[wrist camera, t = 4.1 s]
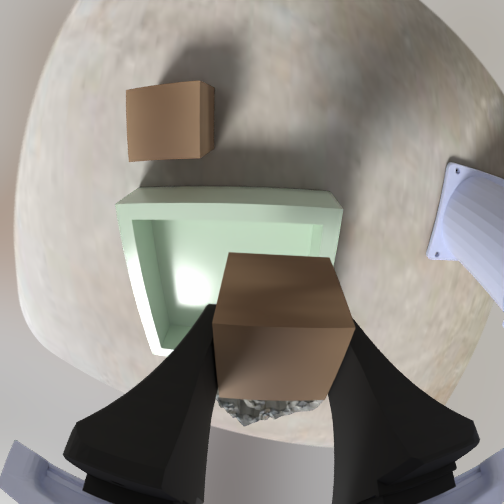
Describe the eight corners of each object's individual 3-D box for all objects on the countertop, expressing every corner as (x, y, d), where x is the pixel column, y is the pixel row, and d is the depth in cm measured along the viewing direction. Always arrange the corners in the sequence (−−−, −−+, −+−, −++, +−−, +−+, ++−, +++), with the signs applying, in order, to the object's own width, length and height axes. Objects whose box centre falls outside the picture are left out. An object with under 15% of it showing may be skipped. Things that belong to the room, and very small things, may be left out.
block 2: (329, 257, 11) (355, 327, 7) (313, 329, 13) (324, 399, 9) (228, 252, 11) (212, 323, 7) (229, 326, 13) (219, 397, 9)
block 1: (214, 87, 14) (200, 80, 11) (214, 148, 16) (200, 158, 13) (154, 93, 15) (126, 90, 11) (156, 150, 16) (128, 162, 13)
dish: (329, 191, 17) (343, 209, 14) (305, 335, 23) (310, 365, 20) (138, 187, 18) (115, 204, 14) (163, 326, 24) (152, 354, 21)
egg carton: (301, 344, 25) (305, 379, 21) (325, 381, 28) (330, 411, 24) (208, 372, 27) (202, 403, 24) (243, 403, 30) (241, 431, 27)
